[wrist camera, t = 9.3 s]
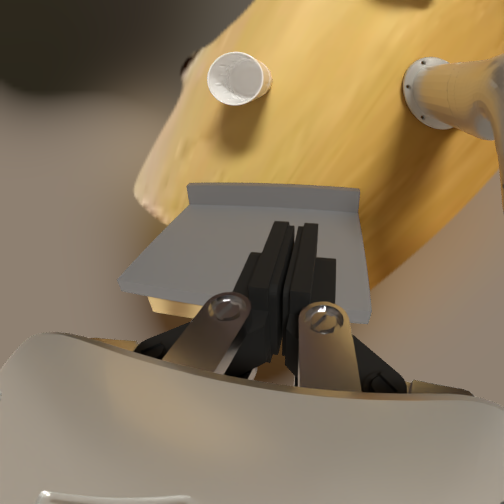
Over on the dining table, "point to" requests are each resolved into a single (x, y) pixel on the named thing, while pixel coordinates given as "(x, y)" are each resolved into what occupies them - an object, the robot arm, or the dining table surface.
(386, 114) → the dining table surface
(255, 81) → the white cup
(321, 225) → the board
